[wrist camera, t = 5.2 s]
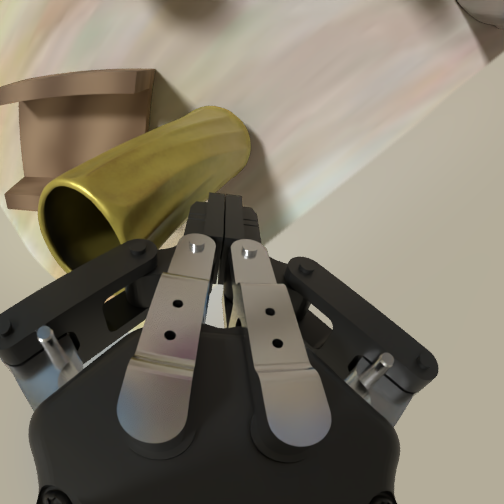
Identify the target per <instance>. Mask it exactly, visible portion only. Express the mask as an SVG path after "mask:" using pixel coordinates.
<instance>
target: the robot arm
mask: <svg viewBox="0 0 504 504" xmlns="http://www.w3.org/2000/svg"><path fill="white" fill-rule="evenodd" d="M457 1H458V2H459V4H460V5H461V6H462V7H463V8H464V9H465V10H466V12H467V13H468V14H470V15H471V16H472V17H473V18H475V19H476V20H478V21H480V22H482V23H485V24H493V25H495V26H496V27H497V28H498V29H504V0H457ZM224 200H225V202H224ZM258 226H259V225H258V219H257V214H256V213H255V212H254V210H253V209H252V208H249V207H242V196H236V195H228V194H226V196H225V194H220V193H212V192H209V197H208V202H199V201H196V202H195V203H194V204H193V205H192V206H191V207H190V211H189V215H188V219H187V224H186V228H185V232H184V236H183V237H181V238H180V240H179V241H178V244H177V245H176V246H174V247H172V248H168V249H160V250H157V247H156V245H155V244H154V243H153V242H151V241H149V240H146V239H132V240H129V241H127V242H125V243H123V244H121V245H119V246H117V247H115V248H113V249H111V250H109V251H108V252H106V253H104V254H102V255H100V256H98V257H96V258H94V259H93V260H91V261H89V262H87V263H85V264H83V265H82V266H80V267H78V268H76V269H74V270H73V271H71V272H69V273H67V274H66V275H64V276H62V277H60V278H59V279H57V280H55V281H54V282H52V283H50V284H48V285H47V286H45V287H43V288H41V289H40V290H38V291H36V292H35V293H33V294H32V295H30V296H28V297H27V298H25V299H23V300H22V301H20V302H19V303H17V304H15V305H14V306H13V307H11V308H9V309H8V310H6V311H4V312H3V313H1V314H0V358H1V360H2V362H3V363H4V364H5V365H6V366H7V367H8V369H9V370H10V371H11V372H12V373H13V375H14V377H15V379H16V381H17V383H18V385H19V386H20V388H21V390H22V392H23V393H24V395H25V397H26V399H27V401H28V402H29V404H30V405H31V407H32V409H33V410H34V413H33V415H32V418H31V421H30V425H29V443H30V447H31V451H32V454H33V457H34V461H35V465H36V469H37V474H38V482H39V495H38V500H37V503H36V504H397V503H396V500H395V496H394V482H395V474H396V469H397V465H398V461H399V455H400V443H399V439H398V436H397V433H396V431H395V429H394V426H395V424H396V423H397V421H398V420H399V418H400V417H401V415H402V413H403V412H404V410H405V409H406V407H407V405H408V404H409V402H410V400H411V399H412V397H413V396H414V395H415V394H416V393H418V392H419V391H420V390H421V389H423V388H424V387H425V386H426V385H427V384H428V383H430V382H431V381H432V380H433V379H434V378H435V377H436V376H437V374H438V364H437V361H436V359H435V357H434V356H433V355H432V353H431V352H429V351H428V350H427V349H426V348H425V347H423V346H422V345H421V344H420V343H418V342H417V341H416V340H415V339H414V338H412V337H411V336H410V335H409V334H408V333H406V332H405V331H404V330H403V329H401V328H400V327H399V326H398V325H396V324H395V323H394V322H393V321H391V320H390V319H389V318H388V317H386V316H385V315H384V314H383V313H381V312H380V311H379V310H378V309H376V308H375V307H374V306H372V305H371V304H370V303H369V302H367V301H366V300H365V299H363V298H362V297H361V296H360V295H358V294H357V293H356V292H355V291H353V290H352V289H351V288H349V287H348V286H347V285H346V284H344V283H343V282H342V281H340V280H339V279H338V278H336V277H335V276H334V275H333V274H331V273H330V272H329V271H327V270H326V269H325V268H323V267H322V266H321V265H319V264H318V263H317V262H315V261H314V260H311V259H309V258H305V257H295V258H292V259H291V260H290V261H289V263H288V264H286V263H283V262H280V261H277V260H274V259H272V258H271V257H269V255H268V251H267V249H266V248H265V247H264V246H263V245H262V244H261V238H260V232H259V227H258ZM217 275H218V284H222V285H224V291H223V296H222V306H223V317H224V327H225V328H224V329H223V328H217V327H214V326H210V325H207V324H205V320H206V314H207V308H208V302H209V295H210V293H211V291H212V284H216V282H217ZM123 288H125V290H124V291H123V292H121V293H120V294H118V295H116V296H115V297H113V298H112V299H110V300H109V301H107V302H105V301H106V299H107V298H109V297H110V296H112V295H113V294H115V293H117V292H118V291H120V290H121V289H123ZM104 302H105V303H104ZM310 304H312V305H314V306H315V307H316V308H317V309H319V310H320V311H321V312H322V313H323V314H324V315H326V316H327V317H328V318H329V319H330V320H331V322H332V324H333V330H332V329H331V328H329V327H328V326H327V325H326V324H325V323H323V322H322V321H321V320H320V319H319V318H318V317H316V316H315V315H314V314H313V313H312V312H311V311H309V310H308V308H309V306H310ZM145 319H146V320H145ZM144 320H145V324H144V327H143V328H140V329H137V330H135V331H133V332H131V333H129V334H128V335H126V336H125V337H124V338H122V339H121V340H120V341H118V342H117V343H116V344H115V345H113V346H112V347H111V348H110V349H108V350H107V351H106V352H105V353H104V354H102V355H101V356H99V357H98V358H97V359H96V360H94V361H93V362H92V363H90V364H89V365H88V366H87V367H86V368H84V369H83V364H84V363H85V362H87V361H88V360H90V359H91V358H92V357H94V356H95V355H97V354H98V353H99V352H101V351H102V350H103V349H105V348H106V347H108V346H109V345H110V344H112V343H113V342H115V341H116V340H117V339H119V338H120V337H121V336H123V335H124V334H126V333H127V332H128V331H130V330H131V329H133V328H134V327H135V326H137V325H138V324H140V323H141V322H142V321H144Z"/></svg>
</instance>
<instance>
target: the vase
mask: <svg viewBox="0 0 504 504" xmlns="http://www.w3.org/2000/svg"><path fill="white" fill-rule="evenodd" d="M250 150H251V143H250V137H249V134H248V131H247V129H246V127H245V125H244V124H243V123H242V121H241V120H240V119H239V118H238V117H237V116H235V115H234V114H233V113H232V112H230V111H229V110H227V109H224V108H221V107H216V106H204V107H200V108H198V109H195V110H193V111H192V112H190V113H189V114H187V115H186V116H184V117H182V118H180V119H177V120H175V121H172V122H170V123H167V124H165V125H162V126H160V127H158V128H155V129H153V130H151V131H149V132H147V133H145V134H142V135H140V136H138V137H136V138H133V139H131V140H129V141H127V142H124V143H122V144H120V145H118V146H116V147H114V148H112V149H110V150H108V151H106V152H104V153H102V154H100V155H98V156H96V157H94V158H92V159H90V160H88V161H86V162H84V163H82V164H80V165H79V166H77V167H75V168H73V169H71V170H69V171H67V172H65V173H63V174H62V175H60V176H58V177H57V178H55V179H53V180H52V181H51V182H49V183H48V184H47V185H46V186H45V187H44V189H43V191H42V193H41V196H40V199H39V205H38V220H39V225H40V230H41V233H42V235H43V238H44V240H45V242H46V244H47V247H48V249H49V250H50V252H51V254H52V256H53V257H54V259H55V260H56V261H57V263H58V264H59V265H60V266H61V268H62V269H63V270H64V271H65V272H66V273H69V272H71V271H73V270H74V269H76V268H78V267H80V266H82V265H83V264H85V263H87V262H89V261H91V260H93V259H94V258H96V257H98V256H100V255H102V254H104V253H106V252H108V251H109V250H111V249H113V248H115V247H117V246H119V245H121V244H123V243H125V242H127V241H129V240H132V239H146V240H149V241H151V242H153V243H154V244H155V245H156V247H157V250H159V248H160V247H161V246H162V245H163V244H164V243H165V242H166V240H167V239H168V238H169V237H170V236H171V235H172V234H173V233H174V232H175V231H176V230H177V229H178V228H179V227H180V226H181V225H182V224H184V223H185V222H186V221H187V219H188V215H189V211H190V207H191V206H192V205H193V204H194V203H195V202H196V201H199V202H205V201H206V200H208V197H209V192H212V193H216V192H217V191H218V190H219V189H220V188H221V187H222V186H224V185H225V184H226V183H227V182H228V181H229V180H230V179H231V178H233V177H235V176H236V175H237V174H238V173H239V172H240V171H241V170H242V169H243V168H244V167H245V165H246V164H247V161H248V158H249V155H250ZM124 290H125V288H123V289H121V290H120V291H118V292H117V293H115V294H113V295H118V294H120V293H121V292H123V291H124Z"/></svg>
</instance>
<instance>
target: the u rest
mask: <svg viewBox="0 0 504 504" xmlns="http://www.w3.org/2000/svg"><path fill="white" fill-rule="evenodd" d="M154 74H155V69H106V70H90V71H79V72H70V73H61V74H54V75H48V76H41V77H36V78H30V79H25V80H22V81H18V82H15V83H11V84H8V85H5V86H2V87H0V105H4V104H9V103H15V102H19V126H20V141H21V152H22V161H23V169H24V176H25V177H24V178H23V179H21V180H20V181H19V182H18V183H17V184H15V185H14V186H13V187H12V188H11V189H10V190H8V191H7V192H6V193H5V199H6V203H7V208H8V209H17V210H29V211H38V205H39V199H40V196H41V193H42V191H43V189H44V187H45V186H46V185H47V184H48V183H49V182H51V181H52V180H53V179H55V178H57V177H58V176H60V175H62V174H63V173H65V172H67V171H69V170H71V169H73V168H75V167H77V166H79V165H80V164H82V163H84V162H86V161H88V160H90V159H92V158H94V157H96V156H98V155H100V154H102V153H104V152H106V151H108V150H110V149H112V148H114V147H116V146H118V145H120V144H122V143H124V142H127V141H129V140H131V139H133V138H136V137H138V136H140V135H142V134H145V133H147V132H148V130H149V118H150V108H151V98H152V90H153V82H154Z"/></svg>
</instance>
